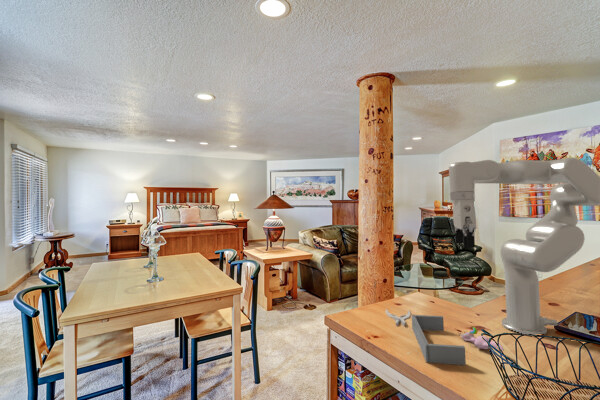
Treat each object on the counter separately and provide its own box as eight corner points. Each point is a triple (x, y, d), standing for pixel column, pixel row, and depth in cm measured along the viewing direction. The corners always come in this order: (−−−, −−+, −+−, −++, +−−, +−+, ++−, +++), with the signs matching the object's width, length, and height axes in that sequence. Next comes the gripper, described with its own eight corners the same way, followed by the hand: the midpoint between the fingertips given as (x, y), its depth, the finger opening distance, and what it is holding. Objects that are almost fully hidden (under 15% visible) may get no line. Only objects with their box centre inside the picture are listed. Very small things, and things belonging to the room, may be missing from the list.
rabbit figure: (454, 342, 95) (493, 358, 81) (451, 323, 96) (490, 336, 82) (470, 339, 96) (511, 355, 82) (467, 321, 97) (507, 333, 83)
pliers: (409, 308, 119) (414, 323, 104) (409, 312, 119) (414, 328, 104) (385, 307, 121) (386, 321, 107) (385, 310, 121) (386, 326, 107)
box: (443, 329, 101) (442, 316, 101) (465, 365, 80) (465, 347, 80) (412, 328, 103) (411, 314, 103) (426, 362, 82) (425, 345, 82)
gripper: (483, 196, 90) (485, 249, 90) (466, 196, 106) (468, 241, 106) (457, 197, 92) (459, 249, 92) (444, 197, 108) (446, 241, 108)
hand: (464, 245), depth 99 cm, fingers open, 9 cm apart
